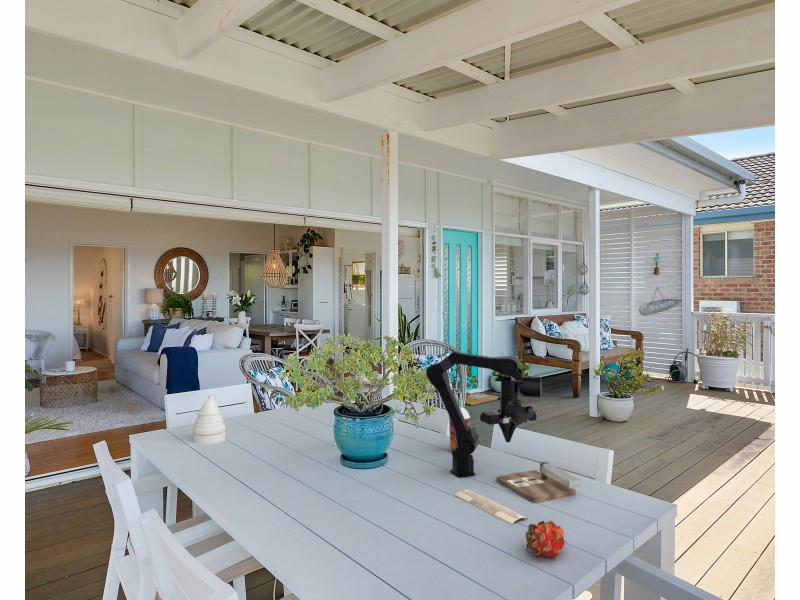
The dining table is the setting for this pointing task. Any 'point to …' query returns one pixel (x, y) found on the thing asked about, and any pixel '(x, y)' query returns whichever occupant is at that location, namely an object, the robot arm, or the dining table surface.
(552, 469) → the swing bar
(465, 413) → the smoothie
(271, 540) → the dining table surface
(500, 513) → the beige long curved strip
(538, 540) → the dragon fruit
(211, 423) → the honey pot
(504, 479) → the label board
